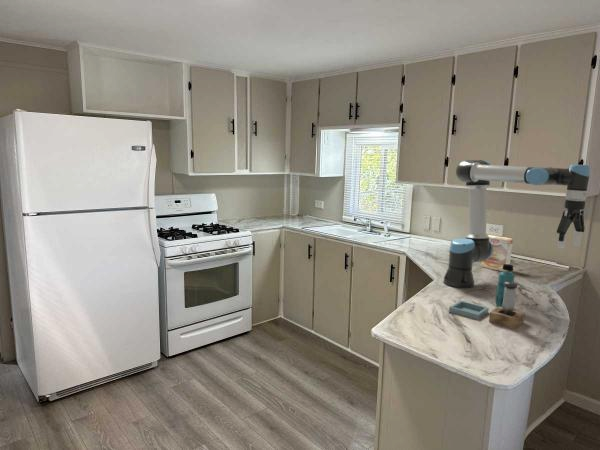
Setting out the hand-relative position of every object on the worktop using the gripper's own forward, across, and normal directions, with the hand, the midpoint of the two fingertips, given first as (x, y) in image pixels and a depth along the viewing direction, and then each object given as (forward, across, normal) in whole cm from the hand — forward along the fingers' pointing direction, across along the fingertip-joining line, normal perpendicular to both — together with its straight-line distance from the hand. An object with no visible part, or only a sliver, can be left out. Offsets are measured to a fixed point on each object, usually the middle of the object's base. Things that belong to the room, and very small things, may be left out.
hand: (568, 247), depth 191 cm
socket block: (+27, -45, -1) cm, 53 cm away
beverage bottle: (+28, -28, +11) cm, 41 cm away
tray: (+28, -48, +14) cm, 57 cm away
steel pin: (+26, -45, -1) cm, 52 cm away
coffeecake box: (+28, +35, +55) cm, 71 cm away
